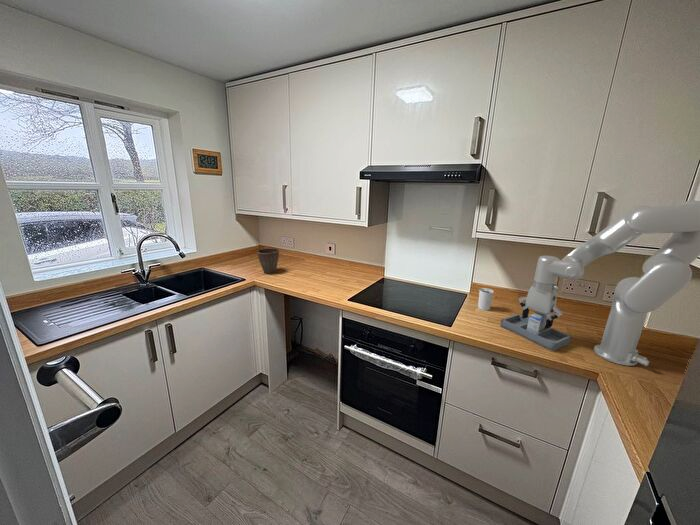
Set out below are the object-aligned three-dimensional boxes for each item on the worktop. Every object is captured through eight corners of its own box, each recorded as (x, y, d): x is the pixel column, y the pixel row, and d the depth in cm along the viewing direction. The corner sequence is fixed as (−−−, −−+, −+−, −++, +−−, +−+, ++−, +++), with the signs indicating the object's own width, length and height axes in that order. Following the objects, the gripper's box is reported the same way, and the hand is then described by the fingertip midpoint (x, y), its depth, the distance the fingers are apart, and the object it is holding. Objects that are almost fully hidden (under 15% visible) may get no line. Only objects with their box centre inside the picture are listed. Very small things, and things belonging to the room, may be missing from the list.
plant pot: (255, 275, 196) (253, 253, 192) (262, 269, 211) (261, 248, 206) (277, 275, 196) (275, 253, 192) (282, 269, 210) (281, 248, 206)
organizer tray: (569, 343, 118) (571, 336, 117) (553, 351, 112) (554, 343, 111) (516, 320, 137) (518, 313, 136) (500, 326, 131) (501, 319, 130)
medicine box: (532, 328, 128) (536, 310, 125) (543, 332, 124) (548, 314, 122) (525, 333, 123) (529, 315, 121) (536, 337, 120) (541, 319, 117)
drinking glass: (491, 307, 151) (494, 289, 148) (490, 312, 145) (493, 293, 143) (477, 304, 154) (480, 287, 151) (476, 309, 149) (478, 291, 146)
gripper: (572, 290, 112) (562, 329, 117) (528, 278, 127) (521, 312, 132) (561, 294, 109) (552, 333, 114) (518, 280, 124) (511, 316, 128)
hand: (535, 322), depth 123 cm, fingers open, 9 cm apart
